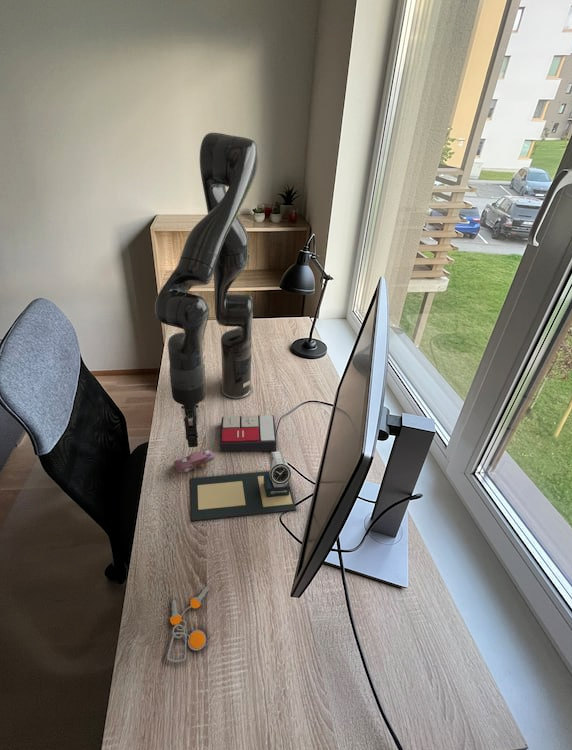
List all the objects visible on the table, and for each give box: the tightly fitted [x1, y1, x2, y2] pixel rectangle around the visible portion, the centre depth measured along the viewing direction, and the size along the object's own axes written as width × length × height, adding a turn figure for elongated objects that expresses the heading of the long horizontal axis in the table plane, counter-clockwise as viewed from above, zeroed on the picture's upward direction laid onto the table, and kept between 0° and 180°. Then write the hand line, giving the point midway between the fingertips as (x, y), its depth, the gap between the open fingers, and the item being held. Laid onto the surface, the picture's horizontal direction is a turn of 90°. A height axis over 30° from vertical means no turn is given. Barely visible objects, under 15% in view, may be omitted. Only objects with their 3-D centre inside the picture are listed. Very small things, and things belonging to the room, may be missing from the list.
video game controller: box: [173, 449, 215, 473], centre depth 102 cm, size 10×5×7 cm, turn 118°
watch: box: [263, 450, 293, 497], centre depth 94 cm, size 6×8×11 cm
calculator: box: [219, 414, 277, 452], centre depth 111 cm, size 11×4×15 cm
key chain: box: [166, 586, 210, 664], centre depth 73 cm, size 13×7×1 cm, turn 178°
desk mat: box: [190, 470, 297, 522], centre depth 96 cm, size 12×24×1 cm, turn 97°
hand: (192, 433), depth 96 cm, fingers open, 8 cm apart
